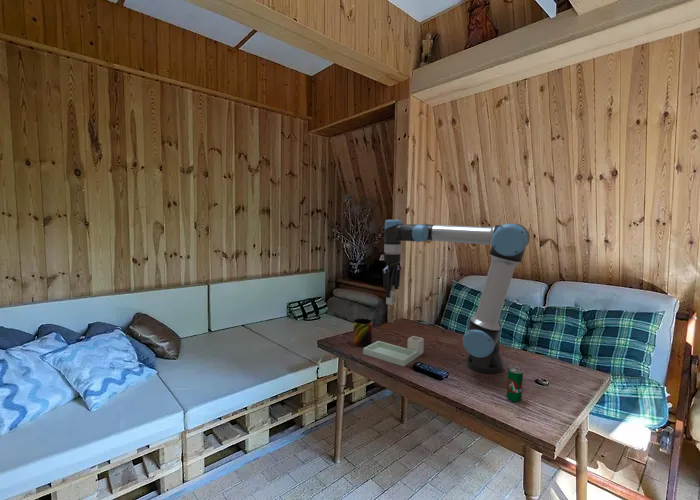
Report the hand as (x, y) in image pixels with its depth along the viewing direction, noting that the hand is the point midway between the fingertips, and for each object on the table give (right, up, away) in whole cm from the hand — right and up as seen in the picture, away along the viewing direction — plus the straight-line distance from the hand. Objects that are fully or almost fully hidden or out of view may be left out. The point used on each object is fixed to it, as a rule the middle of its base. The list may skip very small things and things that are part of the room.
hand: (391, 303), depth 159 cm
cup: (+12, -26, +5) cm, 29 cm away
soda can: (+41, -30, -35) cm, 61 cm away
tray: (0, -26, +2) cm, 26 cm away
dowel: (0, -9, +1) cm, 9 cm away
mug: (-14, -24, +21) cm, 35 cm away
